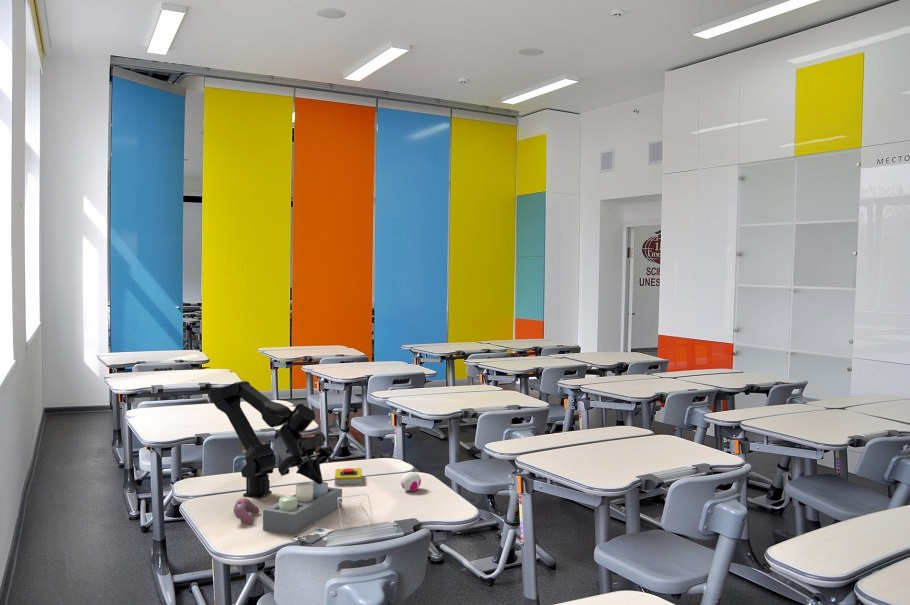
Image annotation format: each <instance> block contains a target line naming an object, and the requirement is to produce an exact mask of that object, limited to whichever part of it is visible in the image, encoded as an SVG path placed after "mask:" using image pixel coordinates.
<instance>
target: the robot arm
mask: <svg viewBox="0 0 910 605" xmlns="http://www.w3.org/2000/svg"><path fill="white" fill-rule="evenodd" d="M210 400H211V402H212V403H213V405H214V406H215V407H216V409H217V410H219V411H221V412H222V413H224V414H225V415H226V416H227V419H228V420H229V423H231V426H232V427H233V429H234V431H235V434H236V435H237V437H238V439H239V441H240V442H241V444H242V446H243V448H244V450H245V455H244V456H245V458H244V461H245V462H246V464H244V466H243V467H242V469H241V470H240V471H241V472H240V473H241V477H242V478H245V479H246V480H245V481H246V485H245V486H246V492H245V493H243V494H242V496H244V497H249V496H250V498H256V499H259V498H262V497H265V496H267V495H269V494H271V493H272V492H273V491H272V490H270V486H271V485H270V484H271V483H270V479H269V478H270V476H269V474H273V473H274V472H273V471H274V468H275V465H276V460H277V459H276V458H277V457H276V456H275V454H276V452H275V451H273V449H272V446H271V444H269V443H262V442H261V441H260V439H259V437H258V436H257V434H256V433H255V430H254V428H253V427H252V425H251V423H250V422H249V419H248V417H247V416H246V414H245V413H244V411H243V409H242V407H241V402H242V401H241V400H244V401H245V402H246V403H247V404H249V405H250V406H251V407H253V409H255V410H257V412H259V413H260V415H261V418H262V420H263V421H264V423H265V424H266V425H267V426H268V427H270V428H275V427H276V428H277V427H280V426H281V427H280V428H279V429H276V430H275V434H274V438H273V439H274V440H277V439H278V440H279V439H280V440H282V443H283V444H284V446H285V447H286V448H287V449H286V450H285V453H286V454H290V455H291V456H287V457H285V458H284V459H283V461H282V462H281V463H280V464H279V465H278V466H277V468H278V472H279V474H280V475H281V477H283V476H287V475H288V474H290V469H292V468H295V467H296V468H297V471H296V472H295V473H296V474H299V475H302V476H304V477H305V478H307V479H309V480H311V481H312V482H313V483H314V482H316V483H318V484H322V483H323V482H324V480H323V475H322V471H321V465H322V464H324V463H326V462H327V461H328V459H330V457H331V456H332V455H333V454H334V453H335V451H334V449H333V447H332V446H330V445H326V446H324V445H325V442H326V441H327V438H326V436H325V434H324V433H323V431H320V432H317V433H315V434H314V436H310V437H308V436H303V434H302V433H303V432H305V431H306V430H307V428H308V427H309V426H310V425H311V424H312V423H313V422H314V420H315V419H316V413H315V411H314V410H313V409H312V408H310V407H308V406H307V405H306V406H305V405H304V404H303V403H298V404H296V406H295V407H294V409H293V410H291V409H290V407H289V406H287V405H285V404H283V403H279V402H275V401H272V400H271V399H270V398H269V397H267V396H266V395H264V394H263V393H262V392H260V391H259V390H258V389H256V388H255V387H254V386H252V385H251V383H250V382H249V381H247V380H243V381H236V382H234V383H232V384H230V385H223V386H216V387H214V388H213V389H212V392H211V393H210ZM321 446H323V447H321ZM318 447H320V448H319V449H318Z"/></svg>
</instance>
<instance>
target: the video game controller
mask: <svg viewBox="0 0 910 605" xmlns="http://www.w3.org/2000/svg"><path fill="white" fill-rule="evenodd" d="M232 510H233V513H234V516H235V517H236V519H239V520H240V522H242V523H244V524H247V525H253V524H254V523H255V518H254V517H253V516H252V515H251V514H253V515H258V514H259V513H260V512H261V510H260V508H259V507H258V506H257V505H256V504H254V502H252V501H251V500H250V499H249V498H247V496H244V497H242V498H239V499H237V500H236V501H235V504H234V506H233V509H232ZM249 513H250V514H249Z"/></svg>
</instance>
